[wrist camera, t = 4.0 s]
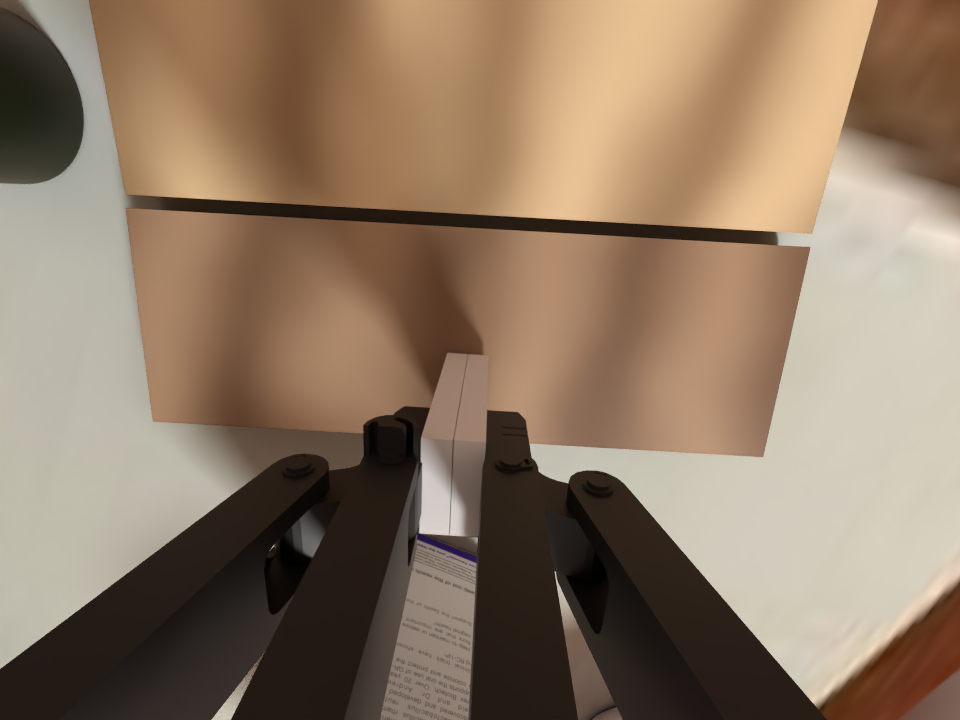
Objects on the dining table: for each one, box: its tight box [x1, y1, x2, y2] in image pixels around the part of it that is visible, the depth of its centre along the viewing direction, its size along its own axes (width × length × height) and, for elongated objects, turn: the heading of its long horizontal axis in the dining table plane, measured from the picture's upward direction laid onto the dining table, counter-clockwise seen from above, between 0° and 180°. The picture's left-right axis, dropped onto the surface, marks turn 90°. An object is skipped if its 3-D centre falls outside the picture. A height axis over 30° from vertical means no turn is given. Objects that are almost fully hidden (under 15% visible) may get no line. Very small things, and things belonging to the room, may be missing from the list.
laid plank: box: [89, 0, 878, 234], centre depth 16 cm, size 24×8×2 cm, turn 87°
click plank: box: [126, 208, 810, 457], centre depth 18 cm, size 24×8×2 cm, turn 87°
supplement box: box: [380, 532, 477, 720], centre depth 18 cm, size 6×6×12 cm
